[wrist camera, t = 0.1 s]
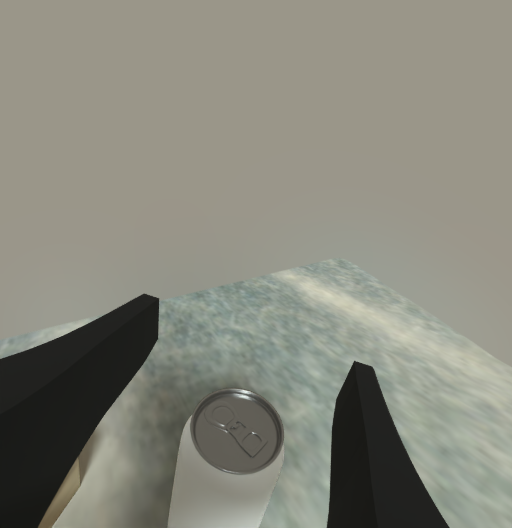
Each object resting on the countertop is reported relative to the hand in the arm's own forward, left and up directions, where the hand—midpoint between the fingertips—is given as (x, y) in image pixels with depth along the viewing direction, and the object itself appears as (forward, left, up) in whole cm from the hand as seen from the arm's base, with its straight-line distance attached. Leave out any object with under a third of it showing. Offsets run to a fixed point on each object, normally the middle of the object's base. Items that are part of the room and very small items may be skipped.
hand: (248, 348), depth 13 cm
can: (+4, 0, -22) cm, 22 cm away
